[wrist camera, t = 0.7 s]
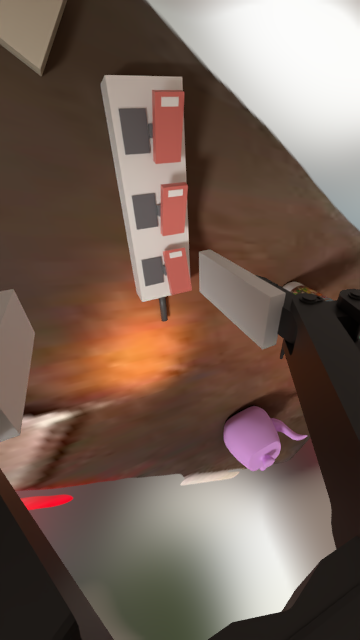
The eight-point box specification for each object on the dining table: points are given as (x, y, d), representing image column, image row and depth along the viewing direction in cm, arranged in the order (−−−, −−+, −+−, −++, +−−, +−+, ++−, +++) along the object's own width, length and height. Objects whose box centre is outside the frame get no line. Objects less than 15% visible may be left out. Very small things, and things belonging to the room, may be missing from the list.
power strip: (142, 323, 49) (149, 338, 45) (100, 84, 30) (106, 71, 26) (184, 312, 52) (194, 325, 48) (170, 85, 32) (185, 74, 28)
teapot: (224, 450, 90) (248, 493, 78) (215, 419, 77) (243, 465, 66) (276, 420, 94) (307, 457, 82) (276, 386, 81) (312, 424, 70)
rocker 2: (160, 232, 37) (163, 236, 36) (160, 184, 32) (163, 188, 31) (181, 229, 38) (184, 233, 37) (185, 181, 33) (188, 185, 32)
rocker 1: (153, 161, 32) (156, 164, 31) (151, 89, 27) (155, 91, 26) (177, 159, 33) (180, 162, 32) (181, 90, 28) (184, 92, 27)
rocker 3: (170, 294, 40) (172, 294, 39) (162, 251, 39) (164, 251, 38) (189, 289, 41) (192, 290, 40) (182, 247, 39) (185, 247, 38)
